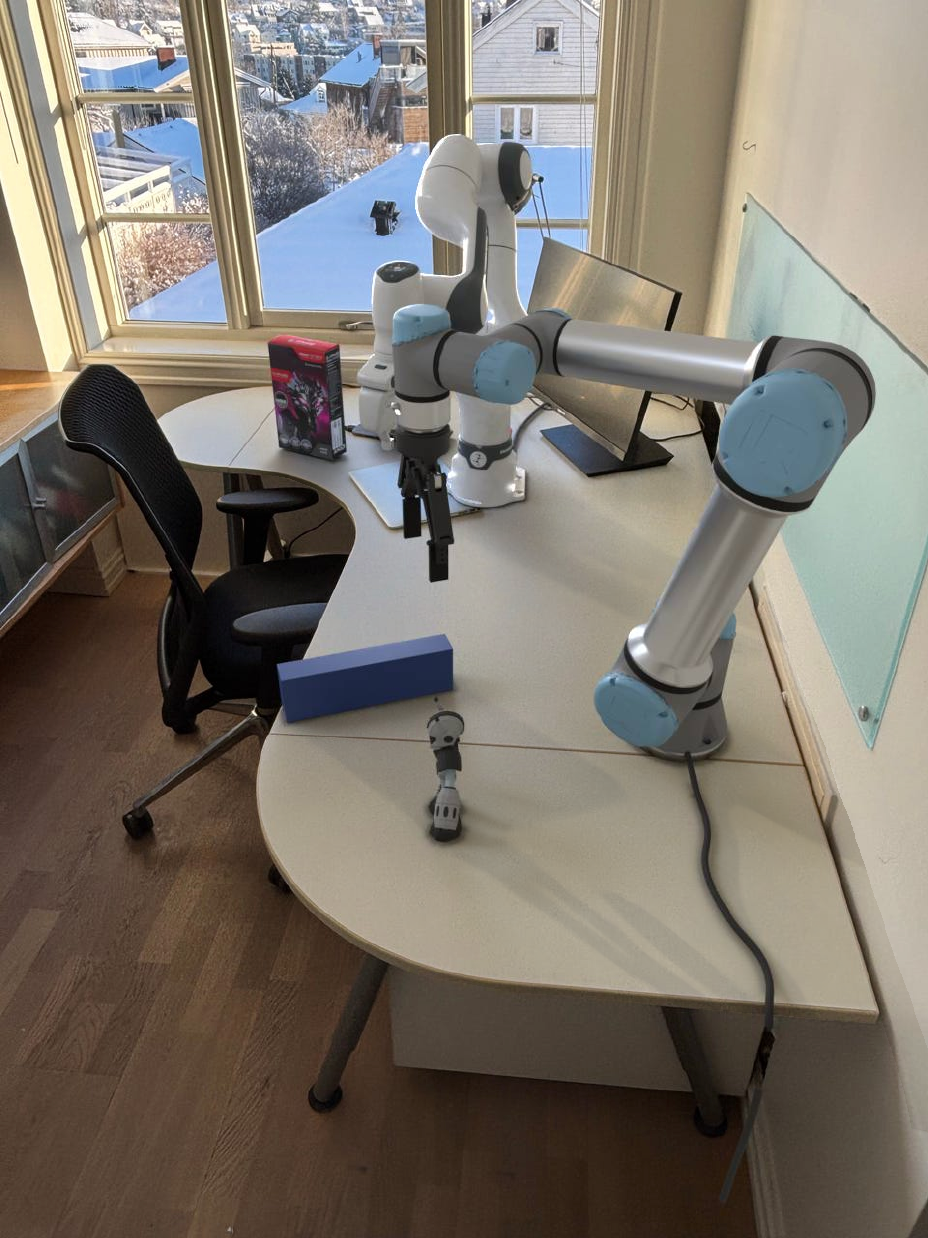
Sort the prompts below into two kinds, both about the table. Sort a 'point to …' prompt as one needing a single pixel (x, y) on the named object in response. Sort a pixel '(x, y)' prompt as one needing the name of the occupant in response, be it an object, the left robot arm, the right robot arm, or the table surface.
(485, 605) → the table surface
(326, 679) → the bar
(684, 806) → the table surface
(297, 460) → the table surface
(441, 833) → the robot
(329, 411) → the graphics card box
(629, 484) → the table surface
